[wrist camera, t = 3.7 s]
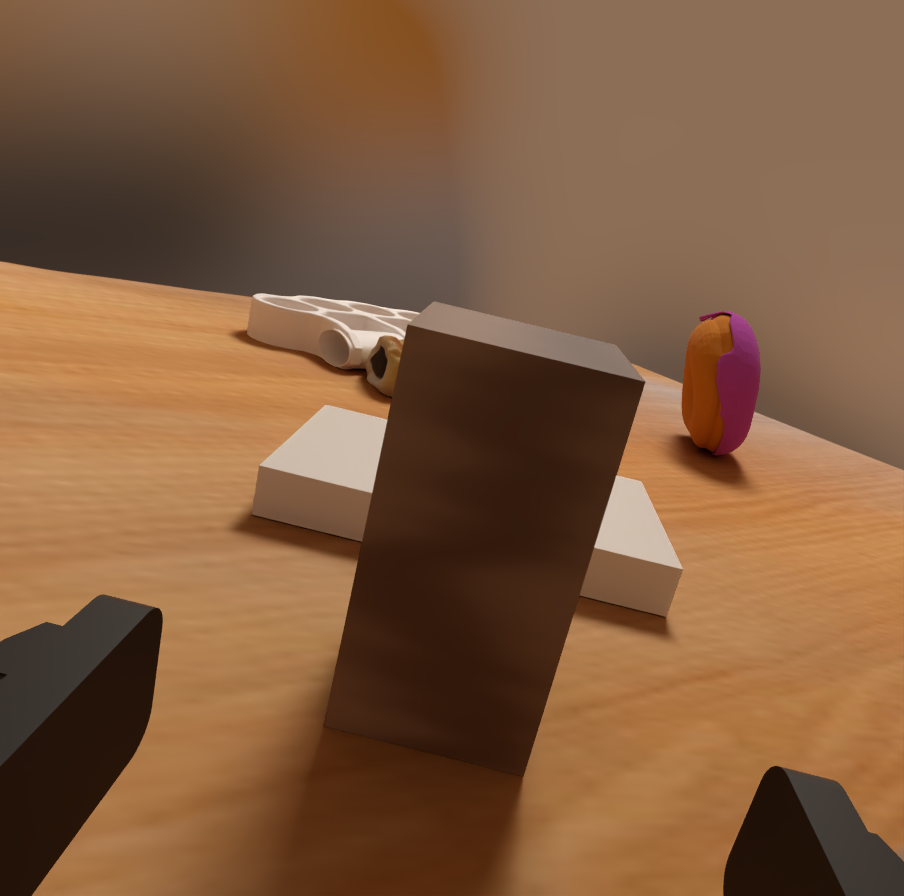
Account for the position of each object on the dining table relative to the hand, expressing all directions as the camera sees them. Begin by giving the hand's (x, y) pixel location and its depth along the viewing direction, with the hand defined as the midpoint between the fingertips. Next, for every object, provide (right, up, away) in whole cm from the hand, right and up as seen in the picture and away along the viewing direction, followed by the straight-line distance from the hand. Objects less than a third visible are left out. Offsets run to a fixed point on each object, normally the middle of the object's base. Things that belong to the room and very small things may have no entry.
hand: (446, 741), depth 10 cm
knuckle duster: (-8, +11, +53) cm, 55 cm away
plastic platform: (+1, +1, +23) cm, 23 cm away
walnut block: (0, -3, +11) cm, 11 cm away
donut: (+18, +4, +47) cm, 51 cm away
